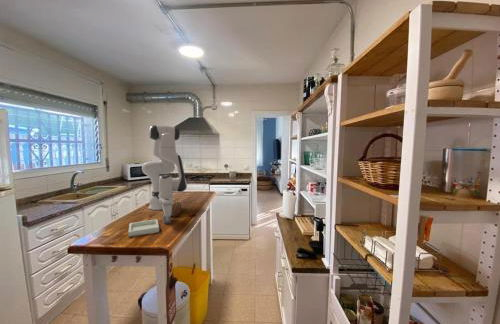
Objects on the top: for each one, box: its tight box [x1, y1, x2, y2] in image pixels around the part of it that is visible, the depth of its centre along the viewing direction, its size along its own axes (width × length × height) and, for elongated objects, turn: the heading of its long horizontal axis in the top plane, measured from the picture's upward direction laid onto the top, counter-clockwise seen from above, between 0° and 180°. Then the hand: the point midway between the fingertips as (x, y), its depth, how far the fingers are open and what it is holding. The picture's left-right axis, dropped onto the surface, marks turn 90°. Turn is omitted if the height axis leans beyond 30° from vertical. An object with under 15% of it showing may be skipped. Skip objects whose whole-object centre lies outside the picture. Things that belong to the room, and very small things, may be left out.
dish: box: [127, 218, 160, 238], centre depth 134 cm, size 16×16×3 cm
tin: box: [171, 201, 182, 217], centre depth 165 cm, size 15×3×8 cm, turn 168°
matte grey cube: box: [162, 213, 172, 225], centre depth 147 cm, size 4×4×5 cm
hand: (166, 219), depth 147 cm, fingers closed on matte grey cube, 4 cm apart
